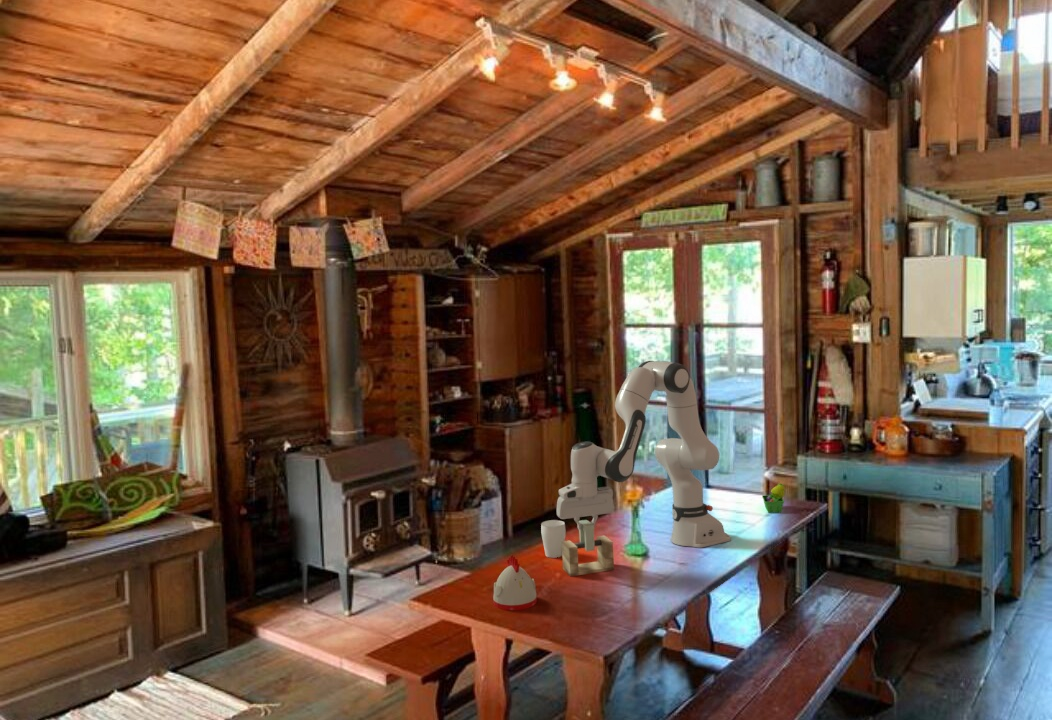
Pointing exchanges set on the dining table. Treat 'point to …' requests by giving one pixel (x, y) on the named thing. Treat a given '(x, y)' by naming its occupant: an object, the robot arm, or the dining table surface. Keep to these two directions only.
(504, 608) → the kitchen timer
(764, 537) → the dining table surface
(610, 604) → the dining table surface
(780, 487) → the fruit basket
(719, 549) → the dining table surface
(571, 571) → the wooden frame with rod
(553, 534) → the cup
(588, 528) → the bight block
